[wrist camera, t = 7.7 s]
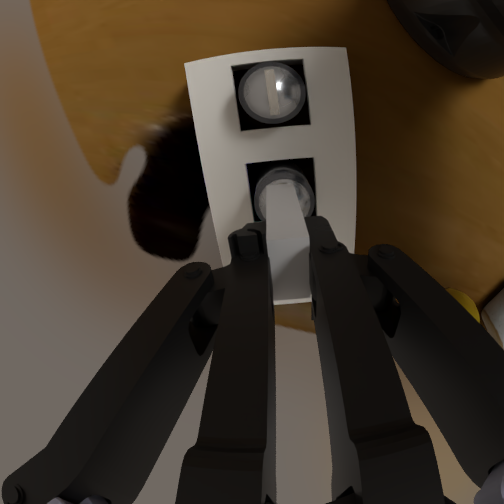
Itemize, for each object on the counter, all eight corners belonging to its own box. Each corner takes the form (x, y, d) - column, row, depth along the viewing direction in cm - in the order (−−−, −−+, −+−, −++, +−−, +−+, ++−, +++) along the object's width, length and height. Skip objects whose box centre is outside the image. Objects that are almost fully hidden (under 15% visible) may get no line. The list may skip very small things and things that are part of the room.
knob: (240, 73, 15) (233, 65, 12) (294, 68, 15) (302, 58, 11) (247, 122, 17) (242, 127, 14) (301, 118, 17) (309, 121, 13)
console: (199, 70, 17) (184, 63, 14) (332, 56, 16) (345, 47, 12) (236, 279, 26) (232, 307, 23) (340, 270, 25) (350, 297, 22)
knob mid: (253, 162, 19) (249, 178, 15) (304, 158, 18) (313, 172, 15) (259, 209, 20) (257, 234, 17) (308, 205, 20) (316, 229, 16)
